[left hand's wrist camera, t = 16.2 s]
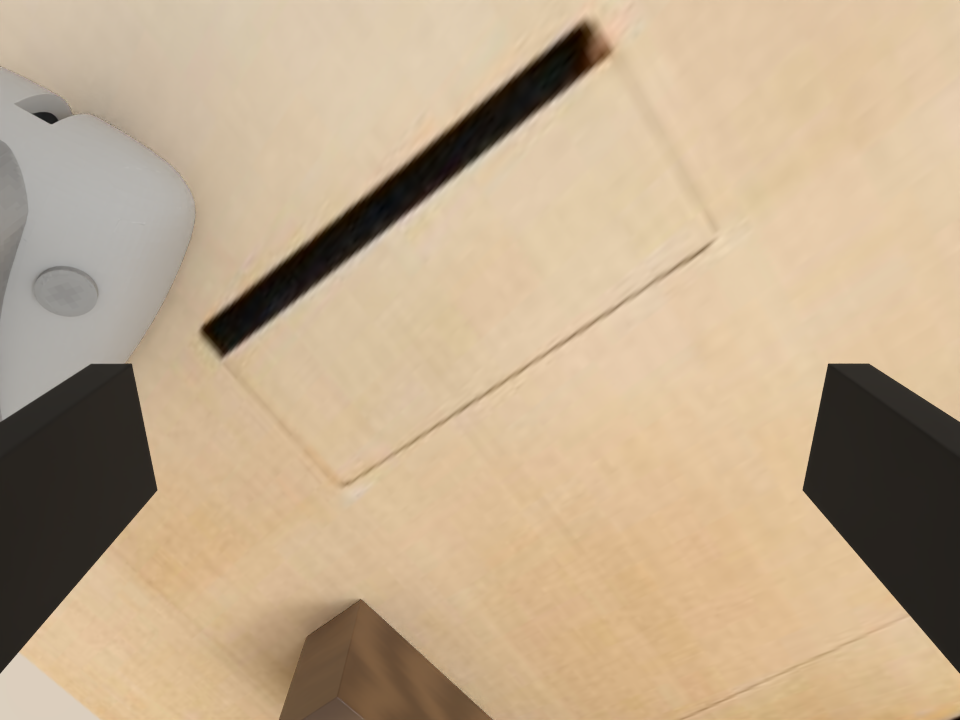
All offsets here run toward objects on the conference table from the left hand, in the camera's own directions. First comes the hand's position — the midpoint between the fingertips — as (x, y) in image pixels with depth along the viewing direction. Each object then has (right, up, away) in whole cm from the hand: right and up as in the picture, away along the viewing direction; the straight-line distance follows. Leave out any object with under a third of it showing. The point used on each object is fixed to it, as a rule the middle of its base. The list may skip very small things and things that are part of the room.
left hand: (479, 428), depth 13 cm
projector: (-28, +7, +31) cm, 42 cm away
